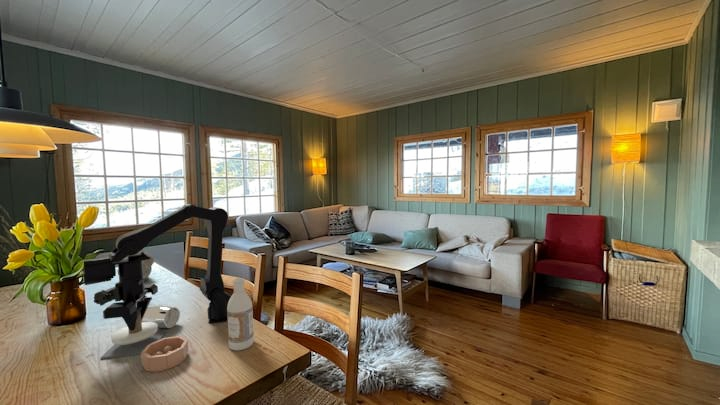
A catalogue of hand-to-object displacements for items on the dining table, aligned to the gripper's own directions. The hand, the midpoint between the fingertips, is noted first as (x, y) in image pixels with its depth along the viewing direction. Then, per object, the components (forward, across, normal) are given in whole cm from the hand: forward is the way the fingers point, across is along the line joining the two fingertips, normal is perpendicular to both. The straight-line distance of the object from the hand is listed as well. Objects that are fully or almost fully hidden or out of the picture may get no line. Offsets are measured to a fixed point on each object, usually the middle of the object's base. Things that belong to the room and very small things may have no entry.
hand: (135, 327), depth 89 cm
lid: (+2, 0, 0) cm, 2 cm away
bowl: (+5, +11, +12) cm, 17 cm away
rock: (+6, -66, -29) cm, 73 cm away
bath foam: (+6, +8, +31) cm, 32 cm away
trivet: (+5, 0, 0) cm, 5 cm away
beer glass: (+2, -16, -7) cm, 17 cm away
